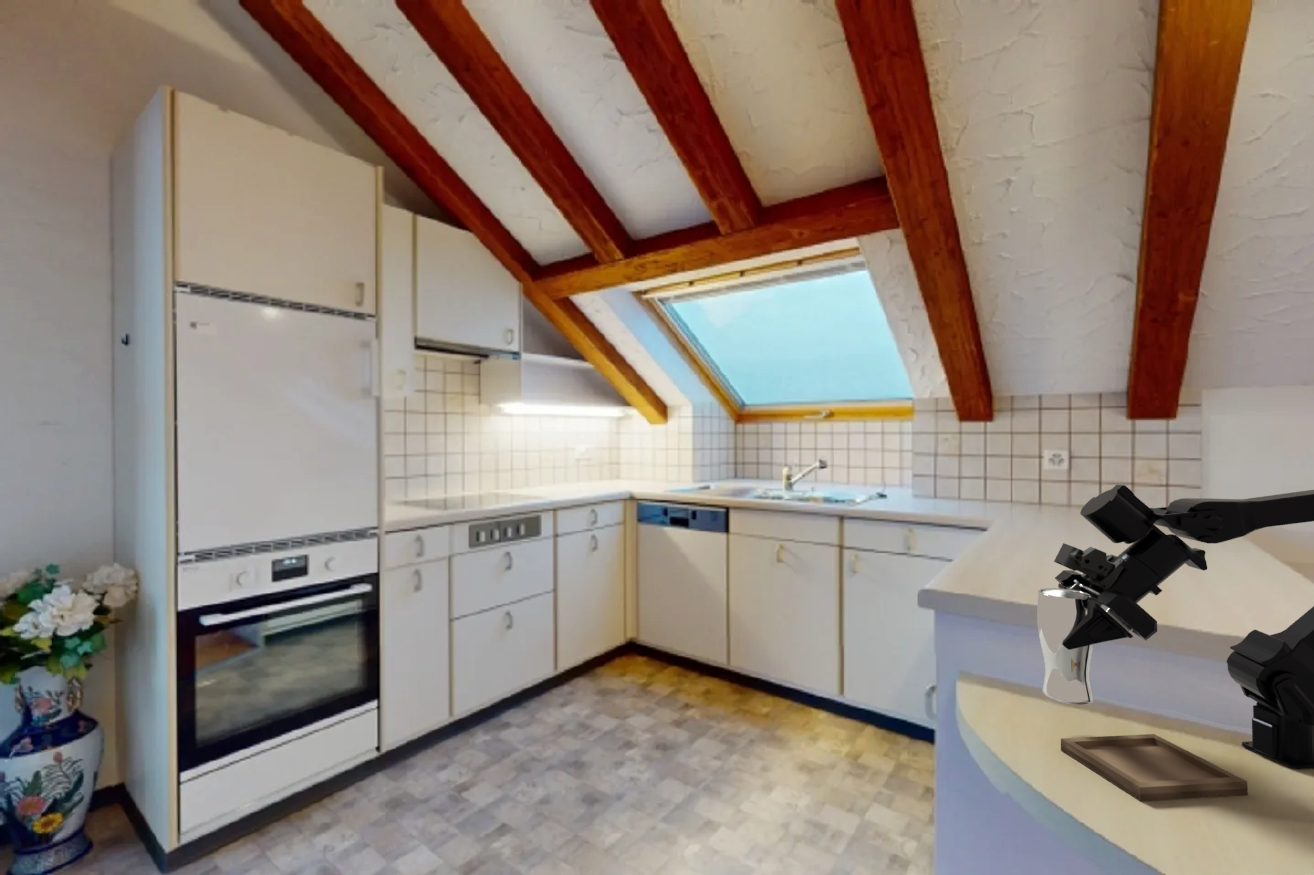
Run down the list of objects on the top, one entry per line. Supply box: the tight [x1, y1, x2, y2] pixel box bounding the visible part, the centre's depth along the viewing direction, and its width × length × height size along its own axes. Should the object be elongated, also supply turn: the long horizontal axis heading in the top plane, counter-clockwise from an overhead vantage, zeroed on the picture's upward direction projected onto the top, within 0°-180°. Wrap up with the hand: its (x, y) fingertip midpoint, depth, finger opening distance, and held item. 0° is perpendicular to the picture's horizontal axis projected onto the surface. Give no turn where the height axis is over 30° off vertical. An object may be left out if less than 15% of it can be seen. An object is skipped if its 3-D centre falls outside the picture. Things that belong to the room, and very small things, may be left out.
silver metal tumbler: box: [1036, 587, 1095, 706], centre depth 87 cm, size 7×7×15 cm
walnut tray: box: [1060, 733, 1249, 802], centre depth 76 cm, size 14×12×2 cm
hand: (1055, 639), depth 88 cm, fingers closed on silver metal tumbler, 7 cm apart
